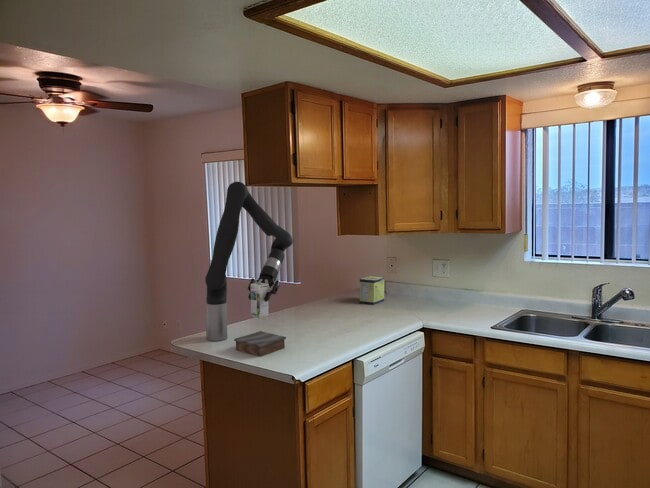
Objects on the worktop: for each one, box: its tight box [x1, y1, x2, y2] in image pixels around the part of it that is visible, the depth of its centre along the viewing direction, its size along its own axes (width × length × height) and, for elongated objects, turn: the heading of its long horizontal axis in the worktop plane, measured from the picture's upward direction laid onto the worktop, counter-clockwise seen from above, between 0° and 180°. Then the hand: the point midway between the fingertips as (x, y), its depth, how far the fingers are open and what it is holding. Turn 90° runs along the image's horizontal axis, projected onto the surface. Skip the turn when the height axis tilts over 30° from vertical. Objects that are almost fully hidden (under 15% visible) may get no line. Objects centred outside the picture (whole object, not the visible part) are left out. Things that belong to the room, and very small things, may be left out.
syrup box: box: [250, 283, 269, 319], centre depth 212 cm, size 6×6×14 cm
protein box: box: [359, 275, 385, 306], centre depth 311 cm, size 10×16×16 cm
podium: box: [233, 330, 287, 357], centre depth 213 cm, size 16×16×5 cm
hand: (257, 300), depth 210 cm, fingers closed on syrup box, 7 cm apart
